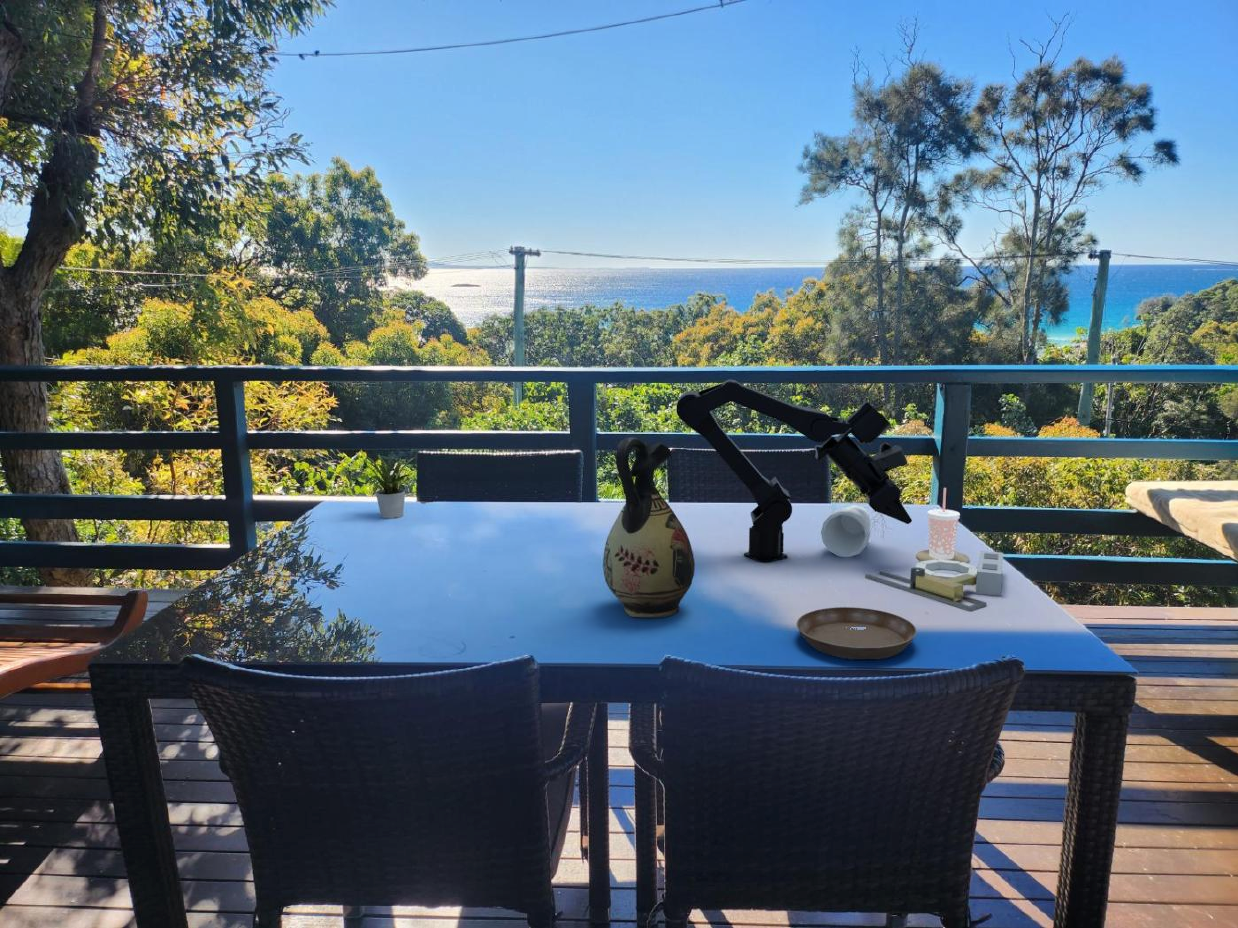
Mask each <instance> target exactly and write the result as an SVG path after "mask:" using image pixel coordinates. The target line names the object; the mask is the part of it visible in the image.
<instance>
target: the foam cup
mask: <svg viewBox="0 0 1238 928" xmlns="http://www.w3.org/2000/svg"><path fill="white" fill-rule="evenodd" d="M820 535H821V540H822V543H823V544H824V546H825V548H826V549H827V550H828V551H829V552H831V553H833V554H834V555H836V556H837V557H842V558H845V557H846V558H851V557H854V556H856V555H859V554H860V553H862V551H863V550H864V549H865V548H867V545H868V543H869V540H870V537H871V517H870V514H869V512H868V511H867V510H866V508H864V507H862V506H860V505H854V504H853V505H852V504H851V505H850V506H847V507H845V508H841V509H839V510H836V511H834V512H832V513H830V514H829V516H828V517H827V518H826V519H825V520H824V521H823V523H822V527H821V531H820Z"/></svg>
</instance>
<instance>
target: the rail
mask: <svg viewBox="0 0 1238 928" xmlns="http://www.w3.org/2000/svg"><path fill="white" fill-rule="evenodd" d="M878 574H879V575H882V576H885V577H888V578H891V579H894V580H897V581H901V582H904V583H906V584H910V578H908V577H905V576H901V575H898V574H895V573H892V572H887V571H884V570H882V569H880V570H878ZM864 578H866V579H868V580H872V581H875V582H878V583H882V584H884V585H887V586H891V587H894V588H897V589H898V590H899V589H901V590H902V591H906V592H908V593H909V592H910V593H913V594H916V595H919V596H922V597H925V598H927V599H931V600H934V601H937V602H941V603H943V604H947V605H950V606H953V607H957V608H959V609H962V610H965V611H968V612H971V611H974V610H979V609H981V608H984V607H986V606H987V602H986V601H983V600H980V599H977V598H972V597H971V596H970V597H969V596H966V595H965V594H963V599H961V600H962V601H964V602H968V603H971V604H972V605H967V604H964V603H961V602H958V601H952V600H949V599H946V598H942V597H939V596H936V595H933V594H930V593H927V592H923V591H920V590H917V589H914V588H911V587H910V586H908V585H904V584H901V583H898V582H894V581H892V580H889V579H885V578H881V577H879V576H875V575H872V574H869V573H866V574H865V575H864ZM961 600H960V601H961Z"/></svg>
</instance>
